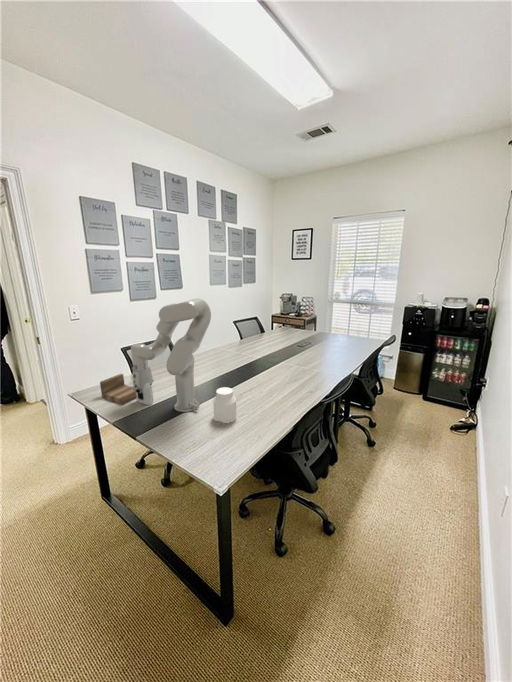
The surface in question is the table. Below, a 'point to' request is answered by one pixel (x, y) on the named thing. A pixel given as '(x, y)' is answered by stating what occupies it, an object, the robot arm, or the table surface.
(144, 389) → the photo printer
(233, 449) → the table surface
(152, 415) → the table surface
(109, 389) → the cleat board
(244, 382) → the table surface
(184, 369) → the robot arm
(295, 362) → the table surface
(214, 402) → the jar
